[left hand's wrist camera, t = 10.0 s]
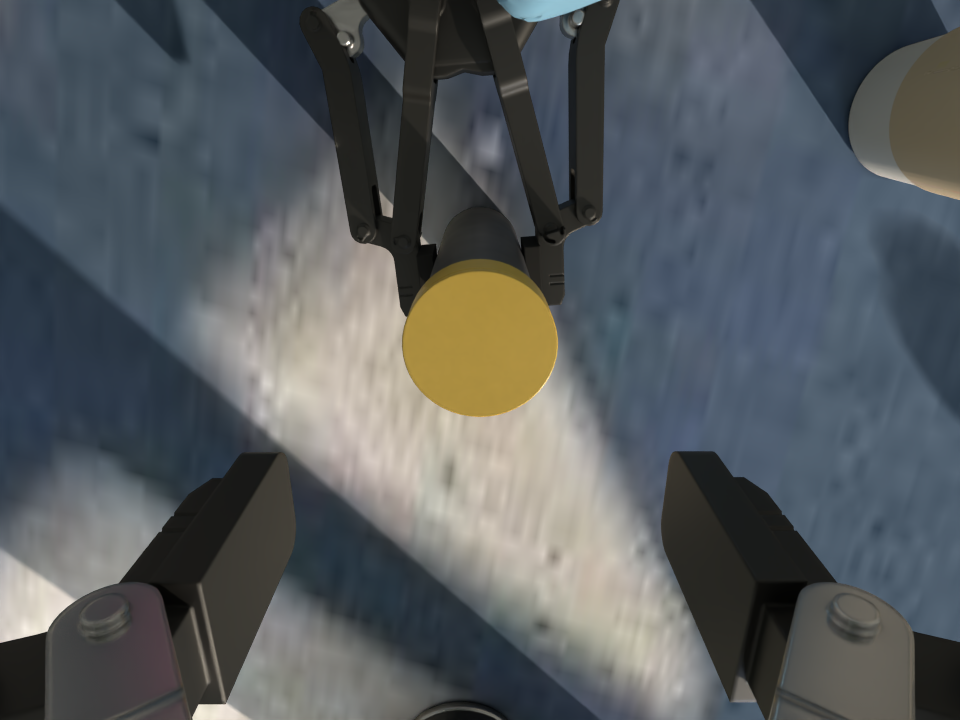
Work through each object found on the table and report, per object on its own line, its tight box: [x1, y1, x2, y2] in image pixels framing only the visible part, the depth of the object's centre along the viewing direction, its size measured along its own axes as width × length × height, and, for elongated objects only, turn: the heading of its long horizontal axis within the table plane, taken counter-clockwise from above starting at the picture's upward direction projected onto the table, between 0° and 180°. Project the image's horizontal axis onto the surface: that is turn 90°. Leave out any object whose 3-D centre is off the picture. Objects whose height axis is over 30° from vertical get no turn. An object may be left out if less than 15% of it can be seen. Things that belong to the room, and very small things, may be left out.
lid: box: [402, 259, 558, 417], centre depth 20 cm, size 5×5×2 cm
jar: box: [430, 207, 530, 278], centre depth 28 cm, size 4×4×17 cm
